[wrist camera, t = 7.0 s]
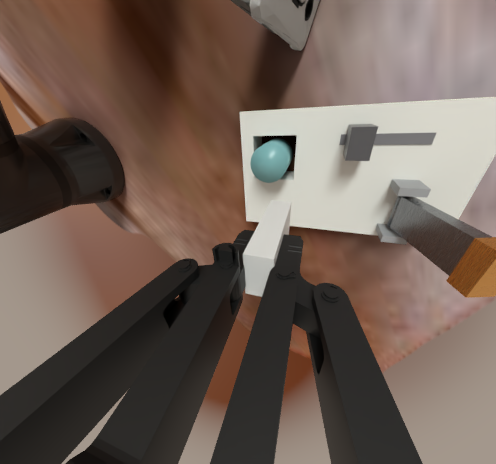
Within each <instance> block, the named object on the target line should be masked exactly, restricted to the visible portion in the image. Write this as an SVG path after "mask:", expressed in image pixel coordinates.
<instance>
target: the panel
mask: <svg viewBox="0 0 496 464" xmlns="http://www.w3.org/2000/svg"><path fill="white" fill-rule="evenodd" d="M349 124H373V125H376V126H378V130H377V133H376V137H375V141H374V145H373V149H372V152H371V156H370V160H369V161H345V159H344V156H343V151H344V146H345V141H346V136H347V130H348V125H349ZM240 126H241V142H242V158H243V173H244V189H245V205H246V221H252V222H260V220H261V218H262V216H263V215H264V213H265V211H266V209H267V207H268V205H269V203H270V201H271V200H274V201H287V202H291V214H290V226H296V227H305V228H314V229H323V230H332V231H341V232H350V233H359V234H367V235H376V236H378V237H379V239H380V241H381V242H388V243H397V244H405V245H406V243H407V241H406V240H405V239H404V238H402V237H401V236H400V235H399V234H397V233H396V232H395V231H394V230H393V229H391V228H389V227H387V223H388V221H389V218H390V215H391V212H392V210H393V207H394V204H395V201H396V199H397V196H409V197H416V198H418V199H420V200H422V201H423V202H425V203H427V204H429V205H431V206H433V207H435V208H437V209H439V210H441V211H443V212H445V213H447V214H449V215H451V216H453V217H454V218H456V219H459V217H460V215H461V214H462V212H463V210H464V208H465V207H466V205H467V203H468V201H469V200H470V198H471V196H472V195H473V193H474V191H475V189H476V188H477V186H478V184H479V182H480V181H481V179H482V177H483V175H484V174H485V172H486V170H487V168H488V167H489V165H490V163H491V162H492V160H493V158H494V156H495V155H496V97H482V98H465V99H448V100H431V101H414V102H397V103H380V104H363V105H346V106H329V107H312V108H295V109H278V110H261V111H245V112H240ZM284 135H297V138H296V152H295V166H294V171H286V172H285V173H284V175H283V176H282V177H281V178H280V179H279V180H278V181H275V182H272V183H266V182H262V181H260V180H259V179H257V178H256V177H255V175H254V174H253V172H252V170H251V165H250V163H251V157H252V155H253V153H254V152H255V150H256V149H257V148H259V147H260V146H262V136H284Z"/></svg>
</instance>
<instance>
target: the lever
mask: <svg viewBox="0 0 496 464" xmlns="http://www.w3.org/2000/svg"><path fill="white" fill-rule="evenodd" d="M387 227H389V228H391V229H393V230H394V231H395V232H396V233H397V234H399V235H400V236H401V237H402V238H404V239H405V240H406V241H407V242H408V243H410V244H411V245H412V246H413V247H415V248H416V249H417V250H418V251H419V252H421V253H422V254H423V255H424V256H426V257H427V258H428V259H429V260H430V261H432V262H433V263H434V264H435V265H437V266H438V267H439V268H440V269H441V270H443V271H444V272H445V273H446V274H448V275H449V278H448V279H447V282H448V283H449V284H451V285H452V286H453V287H454V288H455V289H456V290H458V291H459V292H460V293H461V294H462V295H463V296H465V297H492V296H495V295H496V237H491V236H489V235H487V234H485V233H484V232H482V231H480V230H478V229H476V228H474V227H472V226H470V225H468V224H466V223H464V222H462V221H460V220H458V219H456V218H454V217H453V216H451V215H449V214H447V213H445V212H443V211H441V210H439V209H437V208H435V207H433V206H431V205H429V204H427V203H425V202H423V201H422V200H420V199H418V198H416V197H409V196H397V199H396V201H395V204H394V207H393V210H392V212H391V215H390V218H389V221H388V223H387Z"/></svg>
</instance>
